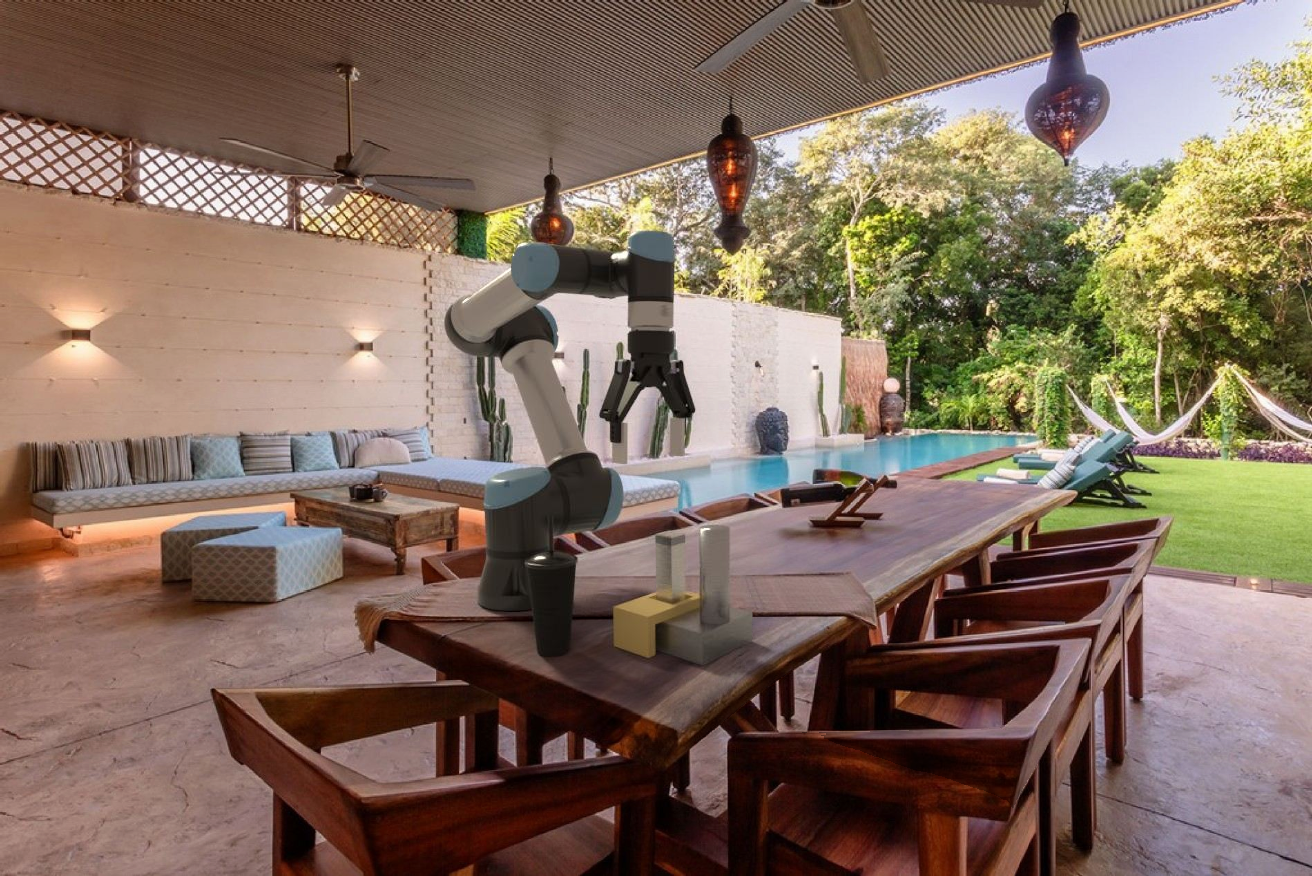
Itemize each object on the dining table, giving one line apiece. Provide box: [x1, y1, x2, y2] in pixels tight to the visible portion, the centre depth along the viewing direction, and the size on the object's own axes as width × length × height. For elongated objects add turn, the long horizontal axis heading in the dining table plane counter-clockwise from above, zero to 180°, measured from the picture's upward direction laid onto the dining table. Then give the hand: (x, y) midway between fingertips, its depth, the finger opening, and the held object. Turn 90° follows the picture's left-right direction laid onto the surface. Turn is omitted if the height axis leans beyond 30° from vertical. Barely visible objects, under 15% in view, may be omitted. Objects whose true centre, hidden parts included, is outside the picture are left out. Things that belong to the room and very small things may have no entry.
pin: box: [654, 530, 686, 604], centre depth 109 cm, size 3×3×16 cm
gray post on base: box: [655, 524, 753, 666], centre depth 106 cm, size 15×12×18 cm
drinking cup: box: [525, 516, 579, 658], centre depth 103 cm, size 8×8×20 cm
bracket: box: [612, 590, 700, 659], centre depth 107 cm, size 7×13×6 cm, turn 138°
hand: (649, 459), depth 117 cm, fingers open, 13 cm apart
